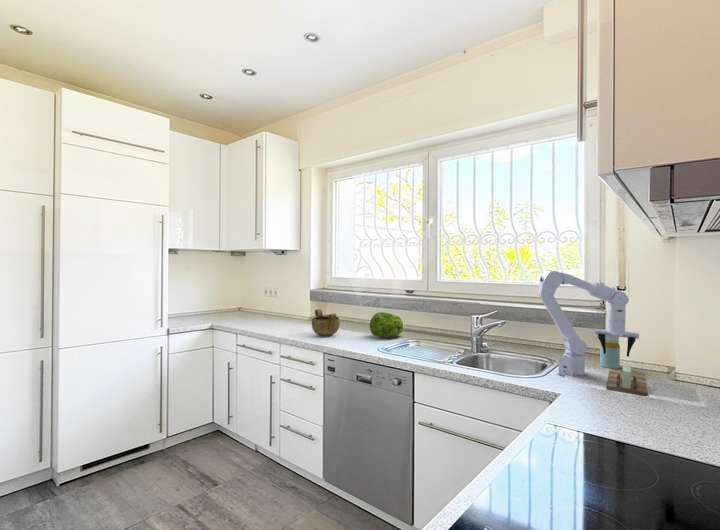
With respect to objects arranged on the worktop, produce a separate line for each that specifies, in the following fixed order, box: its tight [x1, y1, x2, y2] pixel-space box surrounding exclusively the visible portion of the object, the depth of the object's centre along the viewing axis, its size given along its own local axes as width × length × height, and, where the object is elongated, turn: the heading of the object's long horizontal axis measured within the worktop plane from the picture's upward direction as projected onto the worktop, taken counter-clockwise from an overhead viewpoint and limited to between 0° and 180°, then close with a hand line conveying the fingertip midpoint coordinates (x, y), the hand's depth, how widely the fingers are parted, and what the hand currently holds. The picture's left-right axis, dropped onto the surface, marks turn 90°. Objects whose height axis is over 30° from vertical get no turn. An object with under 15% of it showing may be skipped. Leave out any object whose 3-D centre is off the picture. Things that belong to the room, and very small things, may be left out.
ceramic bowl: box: [311, 308, 341, 338], centre depth 234 cm, size 22×17×15 cm
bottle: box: [599, 334, 621, 370], centre depth 165 cm, size 7×7×15 cm
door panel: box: [622, 364, 632, 389], centre depth 141 cm, size 10×2×6 cm, turn 145°
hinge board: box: [605, 369, 649, 397], centre depth 146 cm, size 26×12×3 cm, turn 145°
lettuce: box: [369, 311, 405, 339], centre depth 230 cm, size 16×21×15 cm
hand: (616, 354), depth 153 cm, fingers open, 7 cm apart
